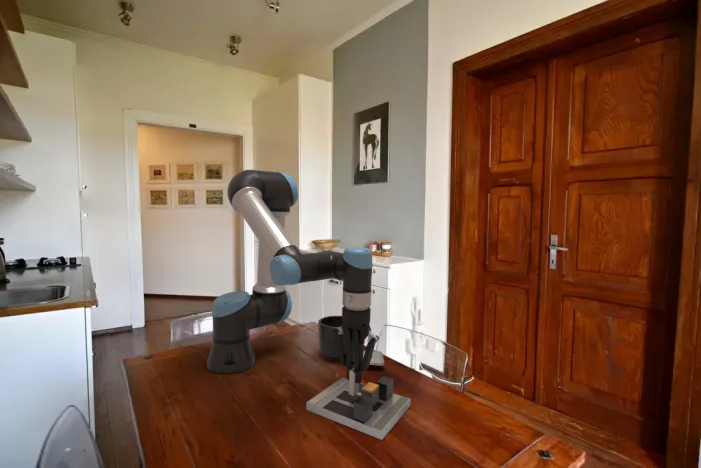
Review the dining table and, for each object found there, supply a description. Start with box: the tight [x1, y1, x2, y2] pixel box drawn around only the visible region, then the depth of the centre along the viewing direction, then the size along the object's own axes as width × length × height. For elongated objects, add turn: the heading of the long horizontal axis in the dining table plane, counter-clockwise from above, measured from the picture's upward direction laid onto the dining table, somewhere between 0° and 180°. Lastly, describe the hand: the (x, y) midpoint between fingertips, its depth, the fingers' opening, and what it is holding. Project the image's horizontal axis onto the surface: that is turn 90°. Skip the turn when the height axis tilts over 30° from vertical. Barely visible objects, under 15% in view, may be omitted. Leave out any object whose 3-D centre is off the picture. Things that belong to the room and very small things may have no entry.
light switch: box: [363, 350, 385, 367], centre depth 121 cm, size 10×10×5 cm
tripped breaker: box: [361, 381, 379, 408], centre depth 92 cm, size 3×4×4 cm
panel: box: [305, 376, 412, 441], centre depth 94 cm, size 22×17×6 cm
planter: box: [317, 315, 347, 362], centre depth 127 cm, size 14×14×13 cm
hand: (353, 392), depth 95 cm, fingers closed
